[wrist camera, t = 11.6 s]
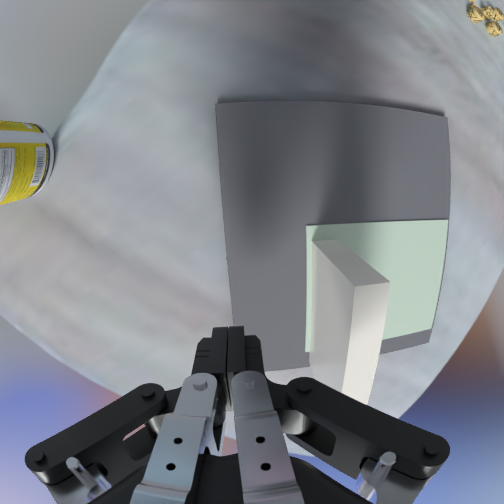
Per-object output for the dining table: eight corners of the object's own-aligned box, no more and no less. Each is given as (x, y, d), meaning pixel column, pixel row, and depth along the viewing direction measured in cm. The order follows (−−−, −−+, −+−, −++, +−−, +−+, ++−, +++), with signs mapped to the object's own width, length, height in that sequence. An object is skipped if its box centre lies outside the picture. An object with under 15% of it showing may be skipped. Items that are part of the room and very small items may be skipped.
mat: (216, 105, 15) (215, 103, 15) (443, 118, 16) (447, 117, 15) (239, 369, 20) (239, 374, 20) (425, 339, 21) (429, 342, 20)
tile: (354, 286, 10) (333, 433, 13) (390, 281, 10) (360, 427, 13) (311, 241, 17) (309, 361, 20) (336, 239, 17) (330, 358, 20)
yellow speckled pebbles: (493, 17, 12) (503, 13, 10) (496, 48, 14) (508, 44, 12) (460, -11, 12) (470, -17, 10) (461, 17, 13) (473, 11, 11)
